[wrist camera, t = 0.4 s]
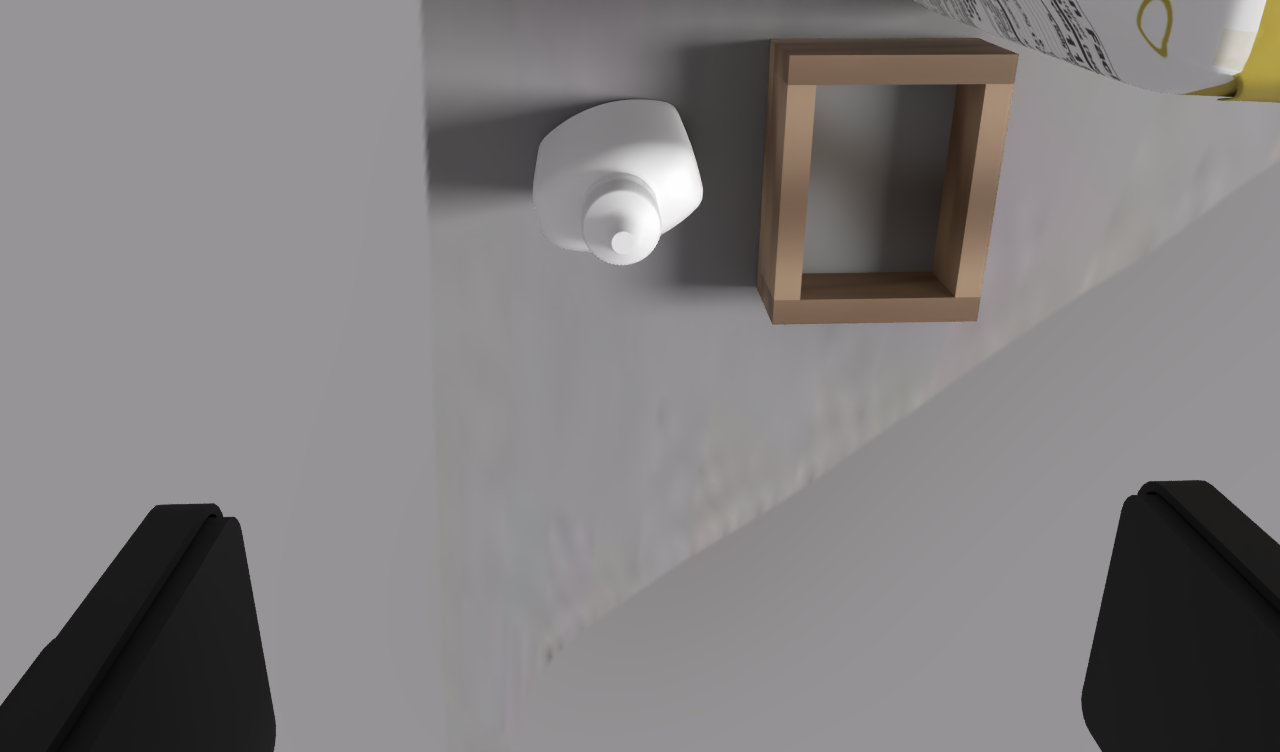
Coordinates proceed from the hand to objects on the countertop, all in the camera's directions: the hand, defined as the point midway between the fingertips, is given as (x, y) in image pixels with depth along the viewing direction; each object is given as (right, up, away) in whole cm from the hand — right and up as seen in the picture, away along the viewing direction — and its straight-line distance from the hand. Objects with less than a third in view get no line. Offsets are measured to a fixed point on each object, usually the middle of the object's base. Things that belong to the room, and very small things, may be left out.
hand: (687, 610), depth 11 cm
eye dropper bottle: (-2, +12, +30) cm, 32 cm away
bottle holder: (+8, +11, +30) cm, 33 cm away
